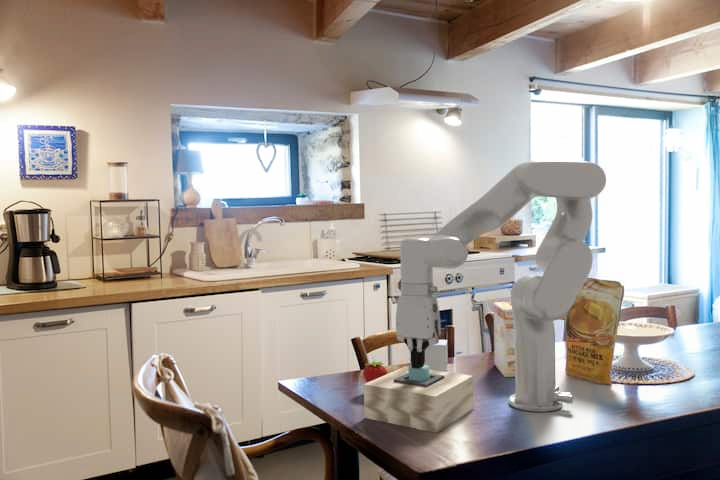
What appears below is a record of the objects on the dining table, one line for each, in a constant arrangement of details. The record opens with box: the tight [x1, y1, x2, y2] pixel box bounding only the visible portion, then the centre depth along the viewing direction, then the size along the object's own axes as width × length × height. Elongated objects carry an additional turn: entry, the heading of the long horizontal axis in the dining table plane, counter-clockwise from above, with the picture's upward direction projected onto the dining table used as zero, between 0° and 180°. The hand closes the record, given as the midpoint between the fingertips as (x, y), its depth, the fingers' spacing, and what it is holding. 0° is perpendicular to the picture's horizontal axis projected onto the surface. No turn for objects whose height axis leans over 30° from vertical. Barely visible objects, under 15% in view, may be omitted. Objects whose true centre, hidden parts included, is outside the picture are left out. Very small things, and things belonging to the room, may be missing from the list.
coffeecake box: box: [493, 301, 515, 378], centre depth 184 cm, size 15×7×20 cm, turn 179°
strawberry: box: [363, 356, 388, 383], centre depth 165 cm, size 6×8×10 cm
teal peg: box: [407, 365, 430, 382], centre depth 148 cm, size 5×5×7 cm
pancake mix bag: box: [564, 277, 625, 386], centre depth 173 cm, size 7×19×28 cm, turn 27°
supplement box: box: [424, 339, 449, 372], centre depth 168 cm, size 7×7×13 cm
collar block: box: [363, 365, 475, 433], centre depth 148 cm, size 19×19×9 cm
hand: (417, 366), depth 147 cm, fingers closed
